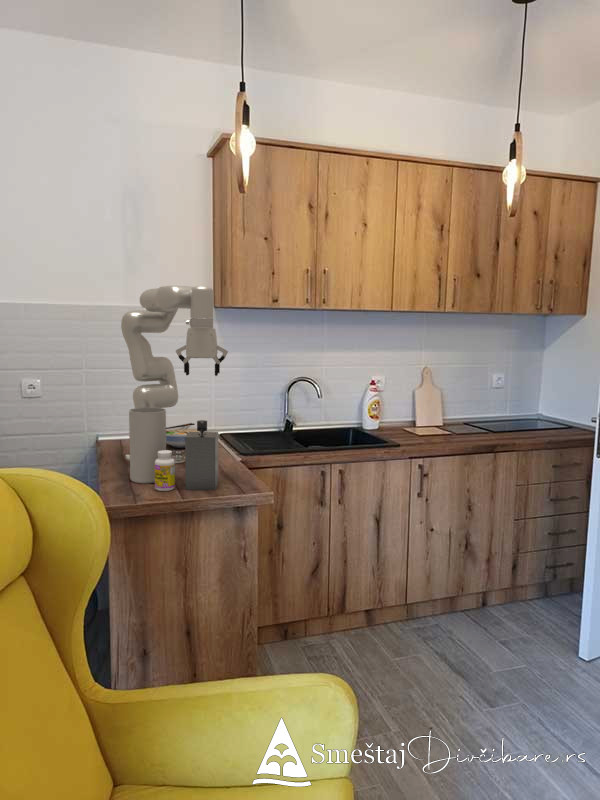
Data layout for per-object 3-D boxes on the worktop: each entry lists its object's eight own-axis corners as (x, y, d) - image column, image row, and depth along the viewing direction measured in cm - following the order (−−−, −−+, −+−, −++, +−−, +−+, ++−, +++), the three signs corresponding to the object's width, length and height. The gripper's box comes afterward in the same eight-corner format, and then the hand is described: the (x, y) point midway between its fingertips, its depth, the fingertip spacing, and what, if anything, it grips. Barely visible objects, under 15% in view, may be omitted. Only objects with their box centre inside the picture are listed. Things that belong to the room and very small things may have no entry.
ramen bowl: (175, 454, 253) (174, 435, 252) (142, 446, 268) (142, 428, 267) (219, 445, 272) (219, 428, 271) (187, 438, 287) (186, 422, 286)
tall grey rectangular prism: (185, 489, 201) (185, 437, 199) (190, 479, 214) (190, 430, 212) (215, 490, 202) (215, 437, 199) (218, 479, 215) (219, 430, 212)
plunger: (190, 484, 203) (189, 422, 200) (193, 479, 210) (192, 419, 207) (211, 485, 203) (211, 423, 200) (213, 479, 210) (213, 419, 207)
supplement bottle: (150, 490, 200) (150, 452, 198) (162, 485, 206) (161, 448, 205) (168, 492, 198) (167, 454, 196) (178, 487, 204) (178, 450, 202)
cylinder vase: (134, 474, 219) (133, 407, 216) (169, 475, 220) (168, 407, 217) (126, 484, 207) (125, 412, 204) (162, 484, 208) (162, 413, 204)
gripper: (173, 323, 195) (174, 375, 198) (227, 324, 196) (226, 376, 198) (177, 323, 203) (177, 373, 205) (228, 324, 204) (228, 374, 206)
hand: (201, 375), depth 202 cm, fingers open, 9 cm apart
